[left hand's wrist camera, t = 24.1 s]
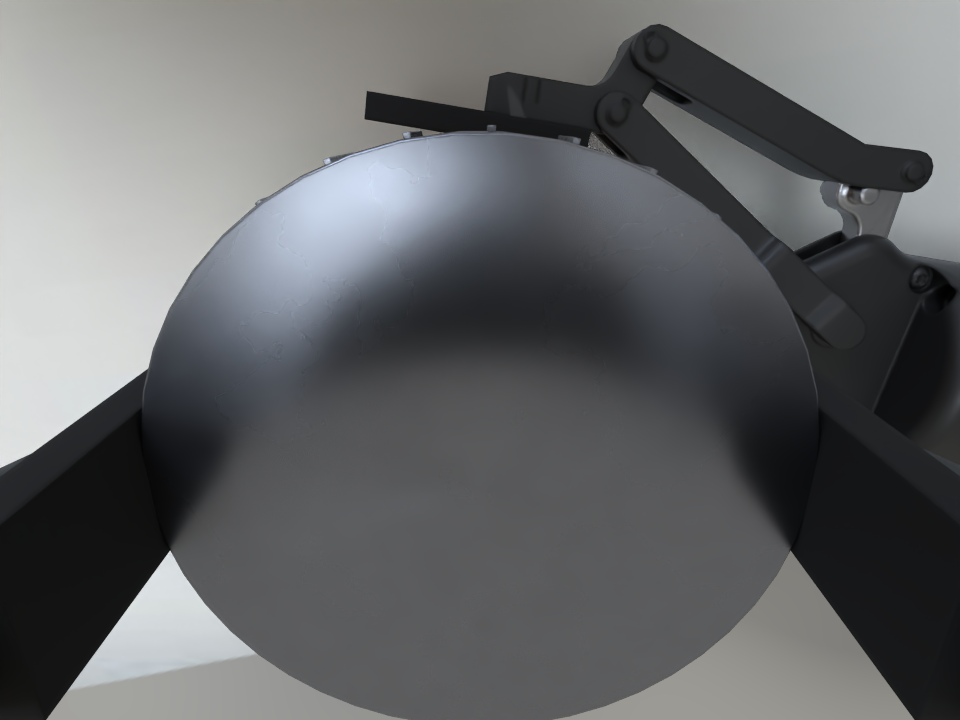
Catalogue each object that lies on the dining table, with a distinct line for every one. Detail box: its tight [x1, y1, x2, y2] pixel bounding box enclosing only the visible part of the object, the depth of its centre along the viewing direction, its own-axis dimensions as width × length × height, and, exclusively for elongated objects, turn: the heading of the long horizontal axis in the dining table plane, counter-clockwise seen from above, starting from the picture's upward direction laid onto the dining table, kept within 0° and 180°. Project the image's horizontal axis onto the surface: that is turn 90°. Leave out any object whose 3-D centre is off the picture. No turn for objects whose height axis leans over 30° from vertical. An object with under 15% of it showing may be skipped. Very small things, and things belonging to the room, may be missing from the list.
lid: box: [140, 125, 820, 720], centre depth 11 cm, size 11×11×2 cm
